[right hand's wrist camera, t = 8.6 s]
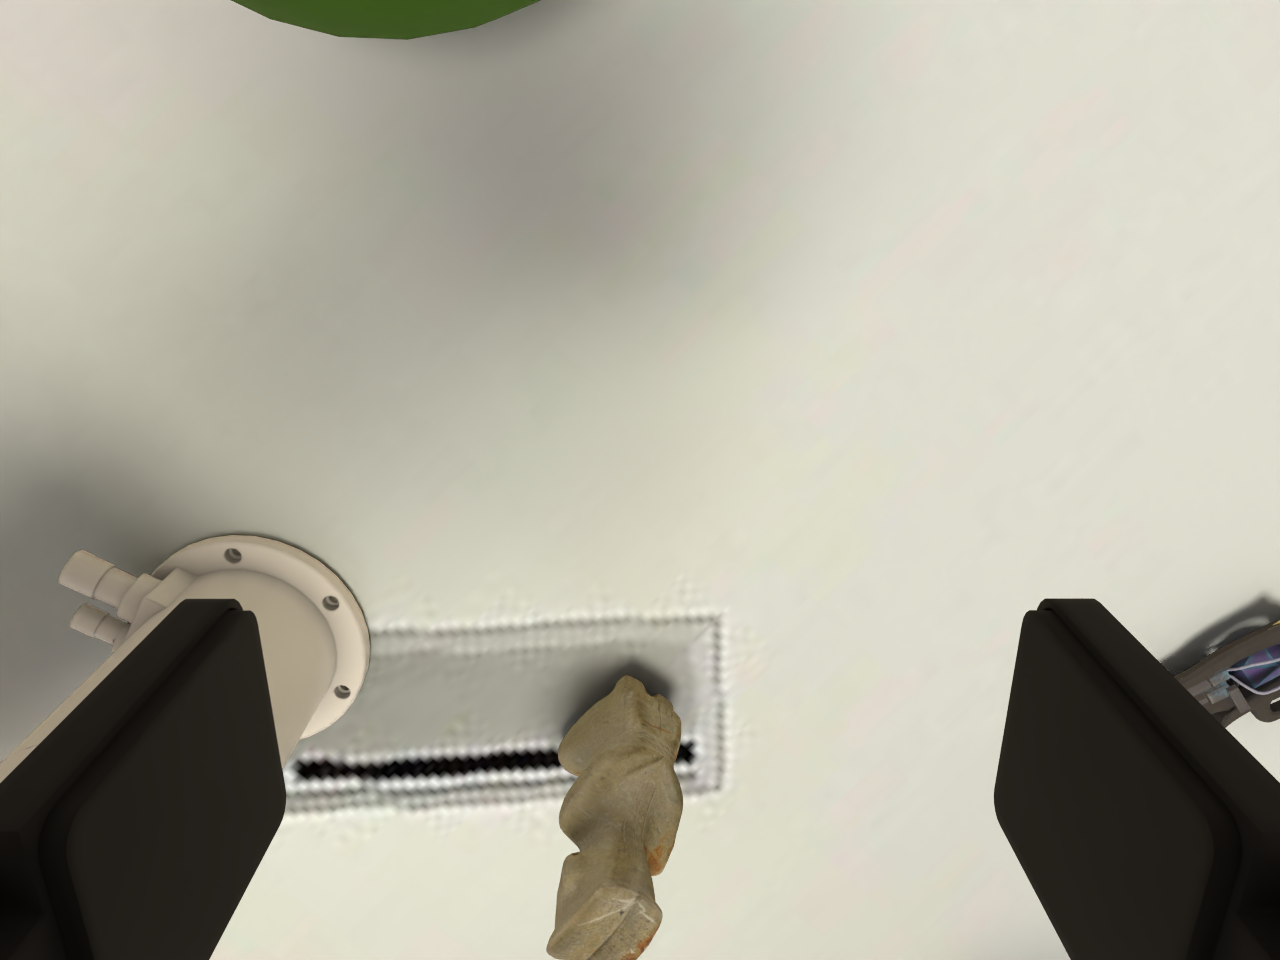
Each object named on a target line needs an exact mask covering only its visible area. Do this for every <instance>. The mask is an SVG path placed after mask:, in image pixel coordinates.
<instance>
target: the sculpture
mask: <svg viewBox="0 0 1280 960" xmlns="http://www.w3.org/2000/svg"><path fill="white" fill-rule="evenodd" d="M680 740H681V720H680V718H679V716H678V715H677V714H676V713H675V712H674V711H673V706H672V704H671V703H670V702H669V701H668V700H667V699H666V698H664V697H663V696H662V695H660V694H655V695H653V696H650V695H649V694H648V693H647V692H646V690H645V687H644V685H643V683H642V682H640V681H639V680H637V679H635V678H633V677H631V676H629V675H625V676H623V677H622V678H621V679H620V680H618V681H617V683H616V685H615V688H614V690H613V691H612V692H611V693H610V694H609V695H608V696H606V697H605V698H603V699H601V700H600V701H598V702H597V703H596V704H594V705H593V706H592V707H591V708H590V709H589V710H588V711H587V712H586V713H585V714H584V715H583V716H582V717H581V718H580V719H579V720H578V721H577V722H576V723H575V724H574V725H573V726H572V727H571V729H570V730H569V731H568V733H567V734H566V736H565V737H564V739H563V740H562V742H561V744H560V746H559V750H558V757H559V761H560V763H561V765H562V766H563V768H564V769H565V770H566V771H568V772H570V773H571V774H574V775H576V776H578V779H577V780H576V781H575V783H574V784H573V785H572V787H571V788H570V790H569V791H568V793H567V795H566V797H565V798H564V801H563V804H562V807H561V810H560V814H559V824H560V828H561V829H562V831H563V832H564V834H565V835H566V836H568V837H569V838H570V839H571V840H572V841H573V842H574V843H575V844H576V845H577V846H578V848H579V849H580V852H576V853H572V854H570V855H568V856H567V857H566V859H565V861H564V863H563V867H562V873H561V879H560V884H559V888H558V893H557V905H556V917H555V930H554V932H553V933H552V935H551V937H550V939H549V942H548V945H547V953H548V954H549V955H551V956H552V957H554V958H555V959H560V960H636V959H637V958H638V957H639V956H640V955H641V954H642V953H643V952H644V950H645V949H646V948H647V946H648V945H649V943H650V942H651V940H652V938H653V937H654V935H655V933H656V931H657V930H658V928H659V926H660V923H661V920H662V911H661V909H660V908H659V906H658V905H657V903H656V902H655V894H654V888H653V882H652V878H651V876H656V875H659V874H660V873H661V872H662V871H663V869H664V867H665V865H666V863H667V861H668V858H669V856H670V853H671V851H672V849H673V847H674V843H675V838H676V833H677V830H678V826H679V822H680V818H681V814H682V809H683V796H682V791H681V787H680V783H679V781H678V778H677V776H676V773H675V771H674V768H673V766H674V762H675V760H676V757H677V754H678V750H679V746H680Z"/></svg>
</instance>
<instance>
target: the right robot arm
mask: <svg viewBox="0 0 1280 960" xmlns="http://www.w3.org/2000/svg"><path fill="white" fill-rule="evenodd" d="M237 550H238V551H239V552H238V551H237ZM58 583H60V584H62V585H64V586H66V587H68V588H70V589H73V590H75V591H77V592H79V593H81V594H83V595H86V596H88V597H90V598H92V599H95V598H96V599H98V600H101V601H103V602H105V603H107V604H109V605H111V606H114V607H116V608H118V610H117V614H116V615H117V617H119V618H121V619H123V620H125V621H127V622H128V623H125V622H123V621H120V620H118V619H116V618H114V617H112V616H110V615H109V614H108V613H106V612H104V611H102V610H100V609H97V608H95V607H93V606H91V605H89V604H87V603H85V604H83V605H82V606H81V607H80V608H79V609H78V610H77V612H76V613H75V614H74V616H73V618H72V620H71V622H70V625H69V626H70V627H71V628H73V629H75V630H78V631H80V632H82V633H84V634H86V635H89V636H91V637H93V638H95V637H96V638H98V639H101V640H103V641H105V642H107V643H109V644H112V645H113V646H112V652H114V653H113V654H112V655H111V656H110V657H109V658H108V659H107V660H106V661H105V662H104V663H103V664H102V665H101V666H100V667H99V668H98V669H97V670H96V671H95V672H94V673H93V674H92V675H91V676H90V677H89V678H88V679H86V680H85V681H84V682H83V683H82V684H81V685H80V686H79V687H78V688H77V689H76V690H75V691H74V692H73V693H72V694H71V695H70V696H69V697H68V698H67V699H66V700H65V701H64V702H63V703H62V704H61V705H60V706H59V707H58V708H57V709H56V710H55V711H54V712H53V713H52V714H51V715H49V716H48V717H47V718H46V719H45V720H44V721H43V722H42V723H41V724H40V725H39V726H38V727H37V728H36V729H35V730H34V731H33V732H32V733H31V734H30V735H29V736H28V737H27V738H26V739H25V740H24V741H23V742H22V743H21V744H20V745H19V746H18V747H17V748H16V749H15V750H14V751H13V752H11V753H10V754H9V755H8V756H7V757H6V758H5V759H4V760H3V761H2V762H1V763H0V960H209V959H210V957H211V955H212V953H213V951H214V949H215V947H216V946H217V944H218V942H219V940H220V938H221V936H222V934H223V932H224V930H225V928H226V927H227V925H228V923H229V921H230V919H231V917H232V915H233V913H234V911H235V909H236V908H237V906H238V904H239V902H240V900H241V898H242V896H243V894H244V892H245V890H246V889H247V887H248V885H249V883H250V881H251V879H252V877H253V875H254V873H255V871H256V870H257V868H258V866H259V864H260V862H261V860H262V858H263V856H264V854H265V852H266V851H267V849H268V847H269V845H270V843H271V841H272V839H273V837H274V835H275V833H276V832H277V830H278V828H279V826H280V824H281V821H282V819H283V815H284V812H285V805H286V789H285V783H284V777H283V771H282V769H283V767H284V766H285V764H286V762H287V760H288V759H289V757H290V755H291V753H292V752H293V750H294V748H295V746H296V745H297V743H298V741H299V740H300V739H303V738H306V737H310V736H312V735H314V734H316V733H318V732H320V731H322V730H324V729H325V728H327V727H329V726H330V725H331V724H332V723H334V722H335V721H336V720H337V719H339V718H340V717H341V716H342V715H343V714H344V713H345V712H346V710H347V709H348V708H349V707H350V705H351V704H352V703H353V702H354V700H355V698H356V696H357V694H358V692H359V691H360V689H361V687H362V685H363V682H364V679H365V676H366V673H367V670H368V666H369V657H370V643H369V634H368V629H367V626H366V623H365V620H364V617H363V614H362V611H361V609H360V608H359V606H358V604H357V602H356V601H355V599H354V597H353V595H352V594H351V592H350V591H349V590H348V589H347V587H346V586H345V585H344V584H343V583H342V581H341V580H340V579H339V578H338V577H337V576H336V575H335V574H334V573H333V572H331V571H330V570H329V569H328V568H327V567H326V566H324V565H323V564H322V563H321V562H320V561H318V560H316V559H315V558H313V557H311V556H310V555H308V554H306V553H305V552H303V551H301V550H299V549H297V548H294V547H292V546H289V545H287V544H284V543H282V542H279V541H276V540H271V539H266V538H262V537H257V536H244V535H228V536H220V537H213V538H208V539H205V540H202V541H199V542H196V543H193V544H190V545H188V546H186V547H185V548H183V549H181V550H180V551H178V552H176V553H174V554H173V555H171V556H170V557H169V558H168V559H167V560H166V561H164V562H163V563H162V564H161V565H160V566H158V567H157V568H156V569H155V571H154V572H153V573H152V574H151V575H148V574H145V573H144V574H142V575H141V576H139V577H138V578H137V577H134V576H132V575H130V574H128V573H126V572H124V571H122V570H120V569H117V568H116V565H113V564H111V563H109V562H107V561H105V560H103V559H101V558H99V557H96V556H94V555H92V554H90V553H88V552H86V551H84V550H79V551H77V552H76V553H75V554H73V556H72V557H71V558H70V559H69V560H68V561H67V563H66V564H65V566H64V567H63V569H62V571H61V573H60V575H59V578H58ZM332 596H333V597H335V598H336V599H335V598H333V597H332ZM994 805H995V812H996V815H997V819H998V821H999V824H1000V826H1001V828H1002V830H1003V832H1004V833H1005V835H1006V837H1007V839H1008V841H1009V843H1010V845H1011V847H1012V849H1013V851H1014V852H1015V854H1016V856H1017V858H1018V860H1019V862H1020V864H1021V866H1022V868H1023V870H1024V871H1025V873H1026V875H1027V877H1028V879H1029V881H1030V883H1031V885H1032V887H1033V889H1034V890H1035V892H1036V894H1037V896H1038V898H1039V900H1040V902H1041V904H1042V906H1043V908H1044V909H1045V911H1046V913H1047V915H1048V917H1049V919H1050V921H1051V923H1052V925H1053V927H1054V928H1055V930H1056V932H1057V934H1058V936H1059V938H1060V940H1061V942H1062V944H1063V946H1064V947H1065V949H1066V951H1067V953H1068V955H1069V957H1070V959H1071V960H1280V783H1279V782H1278V781H1277V780H1276V779H1275V778H1274V777H1273V776H1272V775H1271V774H1270V773H1269V772H1268V771H1267V770H1266V769H1265V768H1264V767H1263V766H1262V765H1261V764H1260V763H1259V762H1258V761H1257V760H1256V759H1255V758H1254V757H1253V756H1252V755H1251V754H1250V753H1249V752H1248V751H1247V750H1246V749H1245V748H1244V747H1243V746H1242V745H1241V744H1240V743H1239V742H1238V741H1237V740H1236V739H1235V738H1234V737H1233V736H1232V735H1231V734H1230V733H1229V732H1228V731H1227V730H1226V729H1225V728H1224V727H1223V726H1222V725H1221V724H1220V723H1219V722H1218V721H1217V720H1216V719H1215V718H1214V717H1213V716H1212V715H1211V714H1210V713H1209V712H1208V711H1207V710H1206V709H1205V708H1204V707H1203V706H1202V705H1201V704H1200V703H1199V702H1198V701H1197V700H1196V699H1195V698H1194V697H1193V696H1192V695H1191V694H1190V692H1189V691H1188V690H1187V689H1186V688H1185V687H1184V686H1183V685H1182V684H1181V683H1180V682H1179V681H1178V680H1177V679H1176V678H1175V677H1174V676H1173V675H1172V674H1171V673H1170V672H1169V671H1168V670H1167V669H1166V668H1165V667H1164V666H1163V665H1162V664H1161V663H1160V662H1159V661H1158V660H1157V659H1156V658H1155V657H1154V656H1153V655H1152V654H1151V653H1150V652H1149V651H1148V650H1147V649H1146V648H1145V647H1144V646H1143V645H1142V644H1141V643H1140V642H1139V641H1138V640H1137V639H1136V638H1135V637H1134V636H1133V635H1132V634H1131V633H1130V632H1129V631H1128V630H1127V629H1126V628H1125V627H1124V626H1123V625H1122V624H1121V623H1120V622H1119V621H1118V620H1117V619H1116V618H1115V617H1114V616H1113V615H1112V614H1111V613H1110V612H1109V611H1108V610H1107V609H1106V608H1105V607H1104V606H1103V605H1102V604H1101V603H1100V602H1098V601H1097V600H1095V599H1044V600H1043V601H1042V602H1041V603H1040V604H1039V606H1038V608H1037V610H1029V611H1028V612H1027V613H1026V614H1025V616H1024V618H1023V622H1022V627H1021V633H1020V639H1019V645H1018V651H1017V657H1016V663H1015V669H1014V675H1013V681H1012V687H1011V693H1010V699H1009V705H1008V711H1007V717H1006V723H1005V729H1004V735H1003V741H1002V747H1001V753H1000V759H999V765H998V771H997V777H996V783H995V789H994Z"/></svg>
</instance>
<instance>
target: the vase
mask: <svg viewBox="0 0 1280 960" xmlns="http://www.w3.org/2000/svg"><path fill="white" fill-rule="evenodd" d="M232 1H234V2H236V3H238V4H240V5H242V6H244V7H246V8H248V9H251V10H253V11H255V12H257V13H259V14H261V15H263V16H265V17H267V18H269V19H272V20H276V21H280V22H284V23H288V24H292V25H296V26H300V27H303V28H307V29H311V30H315V31H319V32H323V33H327V34H331V35H334V36H338V37H360V38H385V39H413V38H418V37H424V36H429V35H435V34H441V33H446V32H452V31H457V30H463V29H468V28H474V27H477V26H479V25H482V24H485V23H487V22H490V21H492V20H495V19H498V18H500V17H502V16H505V15H507V14H509V13H512V12H514V11H516V10H519V9H521V8H524V7H526V6H528V5H531V4H533V3H535V2H538V1H540V0H232Z"/></svg>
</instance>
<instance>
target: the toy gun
mask: <svg viewBox="0 0 1280 960" xmlns="http://www.w3.org/2000/svg"><path fill="white" fill-rule="evenodd" d="M1174 677H1175V678H1176V679H1177V680H1178V681H1179V682H1180V683H1181V684H1182V685H1183V686H1184V687H1185V688H1186V689H1187V690H1188V691H1189V692H1190V694H1191V695H1192V696H1193V697H1194V698H1195V699H1196V700H1197V701H1198V702H1199V703H1200V704H1201V705H1202V706H1203V707H1204V708H1205V709H1206V710H1207V711H1208V712H1209V713H1210V714H1211V715H1212V716H1213V717H1214V718H1215V719H1216V720H1217V721H1218V722H1219V723H1220V724H1221V725H1222V726H1223V727H1224V728H1226V727H1227V726H1228V725H1229V724H1231V723H1232V722H1233V721H1235V720H1236V719H1238V718H1239V717H1241V716H1243V715H1244V714H1246V713H1248V712H1250V711H1251V713H1252V714H1253V715H1254V716H1255V717H1256V718H1257V719H1258V720H1260V721H1263V722H1272V721H1275V720H1278V719H1280V700H1279V701H1277V702H1274V703H1272V704H1271V701H1272V700H1274V699H1276V698H1278V697H1280V620H1279V621H1275V622H1273V623H1270V624H1268V625H1266V626H1263V627H1261V628H1259V629H1257V630H1255V631H1253V632H1251V633H1249V634H1247V635H1245V636H1243V637H1241V638H1239V639H1237V640H1235V641H1233V642H1231V643H1229V644H1227V645H1225V646H1223V647H1222V648H1220V649H1218V650H1216V651H1215V652H1213V653H1211V654H1210V655H1208V656H1207V657H1205V658H1204V659H1202V660H1201V661H1199V662H1198V663H1197V664H1195V665H1194V666H1192V667H1191V668H1189V669H1188V670H1186V671H1184V672H1181V673H1179V674H1177V675H1175V676H1174ZM1233 682H1235V683H1238V684H1240V686H1239V687H1237V685H1236V684H1234V683H1233Z"/></svg>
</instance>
